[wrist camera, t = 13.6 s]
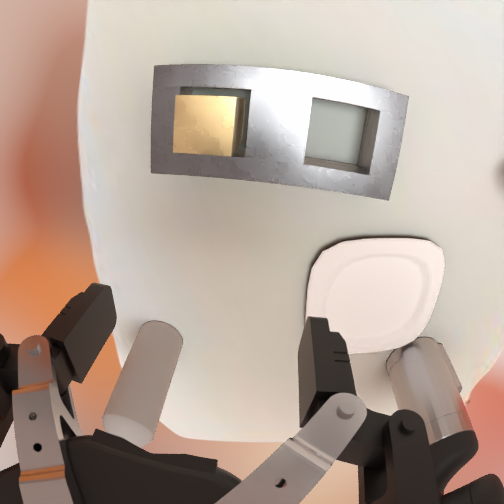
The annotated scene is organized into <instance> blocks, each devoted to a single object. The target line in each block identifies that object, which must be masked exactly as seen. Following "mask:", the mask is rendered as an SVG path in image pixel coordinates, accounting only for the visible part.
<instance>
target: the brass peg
mask: <svg viewBox="0 0 504 504" xmlns="http://www.w3.org/2000/svg"><path fill="white" fill-rule="evenodd" d="M245 103H246V98H244V97H230V96H210V95H176V97H175V114H174V136H173V153H190V154H206V155H219V156H232V155H233V153H234V152H235V150H236V149H237V148H238V146H239V145H240V143H241V142H242V135H243V124H244V114H245Z"/></svg>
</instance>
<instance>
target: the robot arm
mask: <svg viewBox="0 0 504 504" xmlns="http://www.w3.org/2000/svg"><path fill="white" fill-rule="evenodd" d="M116 319H117V316H116V310H115V305H114V300H113V295H112V290H111V287H110V286H108V285H103V284H98V283H92V284H91V285H90V286H89V287H88V288H87V289H86V291H85V292H81V293H79V294H78V295H76V296H74V297H73V298H71V300H70V301H69V302H68V303H67V304H66V306H65V307H64V308H63V309H62V311H61V312H60V314H58V315H57V317H56V318H55V319H54V320H53V321H52V323H51V324H50V325H49V326H48V328H47V329H46V330H45V331H44V333H43V334H42V335H41V336H40V335H34V336H30V337H28V338H26V339H25V340H24V341H23V342H22V343H21V344H7V343H6V341H5V339H4V337H3V336H2V335H1V334H0V447H1V445H2V443H3V441H4V438H5V436H6V434H7V432H8V430H9V428H10V426H11V424H12V422H13V420H14V429H15V438H16V445H17V451H18V458H19V463H18V464H16V465H13V466H11V467H9V468H7V469H4V470H2V471H0V504H299V503H300V502H301V501H302V500H303V499H304V498H305V496H306V495H307V494H308V493H309V492H310V491H311V490H312V489H313V488H314V486H315V485H316V484H317V483H318V482H319V480H320V479H321V478H322V477H323V476H324V474H325V473H326V472H327V471H328V469H329V468H330V467H331V466H332V464H333V463H334V461H335V460H339V461H343V462H347V463H351V464H355V465H358V480H359V504H504V487H503V485H502V482H501V481H500V479H499V478H498V477H497V476H496V475H494V474H488V475H485V476H483V477H481V478H479V479H477V480H475V481H473V482H471V483H469V484H467V485H465V486H463V487H461V488H458V489H456V490H454V491H452V492H450V493H447V494H445V495H443V494H444V489H445V487H446V485H447V483H448V482H449V481H450V479H451V478H452V477H453V476H454V475H455V474H456V473H457V472H458V471H459V470H460V469H461V468H462V467H463V466H464V465H465V464H466V463H467V462H468V461H469V460H470V459H472V458H473V456H474V455H475V454H476V452H477V450H478V440H477V437H476V434H475V432H474V429H473V427H472V424H471V421H470V418H469V416H468V413H467V411H466V409H465V406H464V403H463V401H462V398H461V396H460V392H461V390H462V386H461V383H460V381H459V379H458V377H457V374H456V372H455V370H454V368H453V366H452V364H451V361H450V359H449V357H448V355H447V353H446V351H445V349H444V347H443V345H442V344H437V343H436V341H435V340H433V339H432V338H426V337H422V338H417V339H415V340H414V341H412V342H410V343H408V344H406V345H404V346H402V347H400V348H397V349H396V350H395V351H394V352H393V353H392V354H391V356H390V357H389V359H388V361H387V365H386V367H387V371H388V375H389V378H390V381H391V384H392V388H393V392H394V395H395V399H396V402H397V406H398V411H396V412H395V413H394V414H393V415H392V416H389V415H385V414H381V413H377V412H374V411H371V410H369V409H367V408H366V406H365V404H364V402H363V401H362V400H361V399H360V398H358V397H357V395H356V391H355V385H354V380H353V375H352V369H351V364H350V363H349V362H350V359H349V355H348V350H347V345H346V341H345V340H344V339H343V337H342V336H341V335H340V333H339V332H331V331H330V328H329V323H328V319H327V318H322V317H312V316H308V317H307V320H306V324H305V327H304V331H303V334H302V338H301V342H300V345H299V351H298V375H299V415H300V428H302V429H301V430H300V431H299V432H298V433H297V435H296V436H294V437H293V438H289V439H288V440H287V441H285V442H284V443H283V444H282V445H281V446H280V447H279V448H278V449H277V450H276V451H275V452H274V453H273V454H272V455H271V456H270V457H269V458H268V459H267V460H265V462H263V463H262V464H261V465H260V466H259V467H258V468H257V469H256V470H254V471H253V472H252V473H251V474H250V475H249V476H248V477H247V478H245V479H244V480H243V481H241V480H240V479H239V478H237V477H236V476H235V475H233V474H231V473H230V472H228V471H226V470H224V469H221V468H219V467H217V461H218V460H215V459H208V458H203V457H198V456H193V455H187V454H153V453H149V452H147V451H145V450H143V449H141V448H140V447H138V446H136V445H134V444H133V443H131V442H129V441H127V440H126V439H124V438H122V437H119V436H116V435H113V434H110V433H107V432H104V431H101V430H98V429H95V432H94V434H93V435H83V433H82V431H81V429H80V426H79V423H78V419H77V415H76V411H75V407H74V402H73V398H72V393H71V389H70V386H69V384H70V382H71V381H72V380H73V381H76V382H78V383H82V382H83V380H84V378H85V377H86V375H87V373H88V371H89V370H90V368H91V366H92V364H93V363H94V361H95V359H96V358H97V356H98V354H99V352H100V351H101V349H102V347H103V346H104V344H105V342H106V341H107V339H108V337H109V336H110V334H111V333H112V331H113V329H114V327H115V325H116Z"/></svg>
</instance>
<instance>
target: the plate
mask: <svg viewBox="0 0 504 504" xmlns="http://www.w3.org/2000/svg"><path fill="white" fill-rule="evenodd" d="M444 269H445V260H444V255H443V251H442V249H441V248H440V247H439V246H437V245H436V244H434V243H433V242H431V241H430V240H424V239H416V238H363V239H355V240H348V241H341V242H339V243H337V244H335V245H333V246H331V247H329V248H327V249H325V250H323V251H322V252H321V254H320V255H319V257H318V258H317V260H316V262H315V263H314V265H313V266H312V268H311V273H310V278H309V283H308V289H307V303H306V320H307V317H308V316H312V317H322V318H327V319H328V323H329V328H330V331H331V332H339V333H340V335H341V336H342V337H343V339H344V340H345V341H346V345H347V350H348V354H357V353H369V352H379V351H386V350H390V349H395V348H400V347H402V346H404V345H406V344H408V343H410V342H412V341H414V340H415V339H416V338H417V337H418V336H419V335H420V334H421V332H422V331H423V330H424V329H425V327H426V325H427V323H428V321H429V319H430V317H431V315H432V312H433V309H434V306H435V304H436V301H437V298H438V294H439V291H440V288H441V285H442V281H443V275H444ZM305 324H306V321H305Z"/></svg>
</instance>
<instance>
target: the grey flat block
mask: <svg viewBox="0 0 504 504" xmlns="http://www.w3.org/2000/svg"><path fill="white" fill-rule="evenodd" d="M192 88H225V89H242V90H251V98H250V108H249V119H248V130H247V141H246V150H243V149H236V150H235V152H234V153H233V155H232V156H219V155H206V154H190V153H173V136H174V114H175V97H176V95H192ZM312 98H318V99H324V100H329V101H335V102H340V103H345V104H350V105H355V106H359V107H364V108H367V112H366V119H365V125H364V131H363V138H362V143H361V149H360V155H359V160H358V165H353V164H348V163H342V162H336V161H330V160H324V159H317V158H310V157H305V150H306V143H307V135H308V128H309V120H310V112H311V104H312ZM408 99H409V96H406V95H403V94H400V93H396V92H393V91H389V90H386V89H382V88H378V87H374V86H371V85H366V84H362V83H358V82H354V81H349V80H344V79H340V78H334V77H329V76H324V75H318V74H312V73H306V72H299V71H291V70H284V69H275V68H265V67H253V66H239V65H214V64H182V65H157V66H154V78H153V95H152V118H151V173H156V174H175V175H190V176H204V177H216V178H228V179H238V180H249V181H258V182H267V183H276V184H284V185H292V186H300V187H307V188H315V189H322V190H328V191H335V192H342V193H348V194H354V195H360V196H366V197H372V198H377V199H383V200H388V201H389V197H390V193H391V189H392V185H393V181H394V176H395V172H396V167H397V162H398V157H399V152H400V147H401V142H402V136H403V131H404V125H405V119H406V113H407V106H408Z"/></svg>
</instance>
